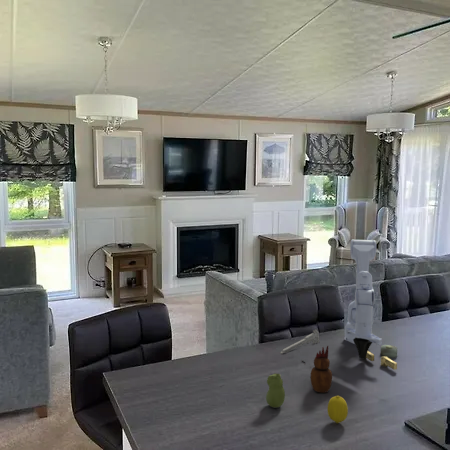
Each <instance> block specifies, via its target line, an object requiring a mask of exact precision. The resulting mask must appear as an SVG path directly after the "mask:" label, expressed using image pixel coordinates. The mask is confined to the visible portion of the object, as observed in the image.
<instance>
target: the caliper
mask: <svg viewBox="0 0 450 450" xmlns="http://www.w3.org/2000/svg"><path fill="white" fill-rule="evenodd" d="M311 342H312V344H313V345H316V344H319V343H320V333H319V331H318V329H317V328H316V329H313V330H312V333H310V334H308V335H306V336H304V338H302V339H300V340H298V341H297V342H295V343H293V344H291V345H289V346H287V347H285V348H284V349H282V350H281V351H280V353H279V354H281V355H282V354H287V353H289V352H292V351H293V350H294V349H297V348H299V347H301V346H302V345H304V344H307V345H308V344H309V343H311Z"/></svg>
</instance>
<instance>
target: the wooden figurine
mask: <svg viewBox="0 0 450 450" xmlns="http://www.w3.org/2000/svg"><path fill="white" fill-rule="evenodd" d="M313 359H314V360H313V366H314V367H312V368H311V371H310V383H311V384H310V385H311V387H312V390H314V391H315V392H317V393H322V394H323V393H328V391H330V389H331V386H332V381H333V373H332V371H331V369H330V368H329V367H330V364H331V363H330V358H329V345H327V346H326V349H325V348H324V346H323V347H322V350H319V351H318V352H316V355H315V357H314V358H313Z"/></svg>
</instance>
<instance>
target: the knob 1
mask: <svg viewBox="0 0 450 450" xmlns="http://www.w3.org/2000/svg"><path fill="white" fill-rule="evenodd" d="M364 359H365V360H366V359H367V360H369V361H371V362H374V361H375V354H374V353H372V352H371V351H369V350H368V351H367V354H366V358H364Z"/></svg>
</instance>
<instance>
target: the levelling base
mask: <svg viewBox="0 0 450 450" xmlns="http://www.w3.org/2000/svg"><path fill="white" fill-rule="evenodd" d="M380 355H381V356H386V357H388V358H389V359H395V358H397V357H398V347H397V346H395V345H391V344H381V346H380Z"/></svg>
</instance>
